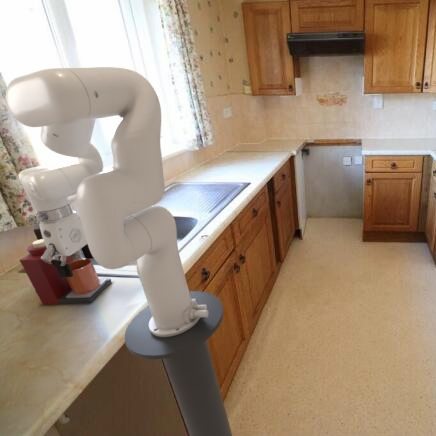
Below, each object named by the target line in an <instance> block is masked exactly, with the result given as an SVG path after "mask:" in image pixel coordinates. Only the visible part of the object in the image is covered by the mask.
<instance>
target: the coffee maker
mask: <svg viewBox="0 0 436 436" xmlns="http://www.w3.org/2000/svg"><path fill="white" fill-rule="evenodd" d="M99 281H100V285H99V286H98V287H97V288H96V289H94V290H93V291H91V292H88V293H85V294H74V293H73V291H72V289H70V290H69V291H68V292H67V293H66V294H64V295H63V296H62V297H61V298H60V299H59V300H58V302H59V304H58V305H83V304H84V305H85V304H89V305H90V304H92V303H93V302H94V301H95V300H96V299H97V298H98V297H99V296H100V295H101V294H102V293H103V292H104V291H105V290H106V289H108V288H109V286H110V285H111V284H112V283H113V282H112V279H111V278H99Z"/></svg>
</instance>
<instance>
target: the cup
mask: <svg viewBox="0 0 436 436" xmlns="http://www.w3.org/2000/svg"><path fill="white" fill-rule="evenodd" d="M68 265H69V267H70V269H71V271H72V273H73V276H72V277H66V278H67V280H68V282H69V284H70V286H71V289H72V291H73V293H74V294H85V293H88V292H91V291H93V290H94V289H96V288H97V287H98V286H99V285H100V281H99V279H100V278H99V275H98V273H97V270H96V269H95V266H94V264H93V261H92V259H86V258H84V259H79V260H75V261H73V262H70V263H68Z"/></svg>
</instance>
